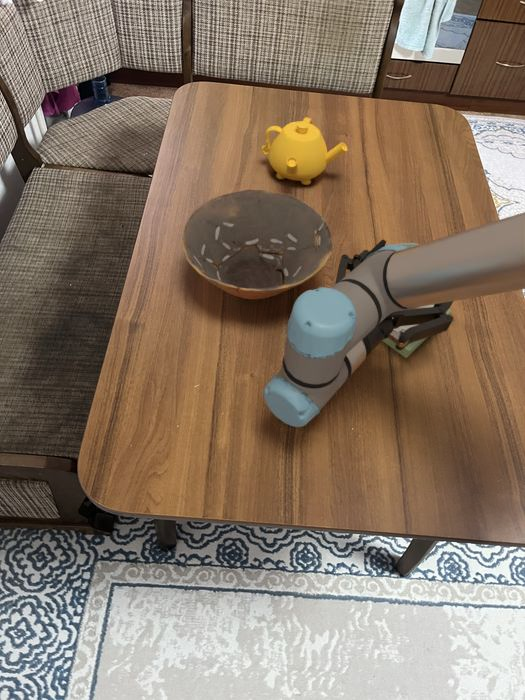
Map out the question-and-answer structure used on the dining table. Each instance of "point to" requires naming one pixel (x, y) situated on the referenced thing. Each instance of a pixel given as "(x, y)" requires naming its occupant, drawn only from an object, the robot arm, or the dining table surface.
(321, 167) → the teapot
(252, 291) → the bowl
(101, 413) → the dining table surface
